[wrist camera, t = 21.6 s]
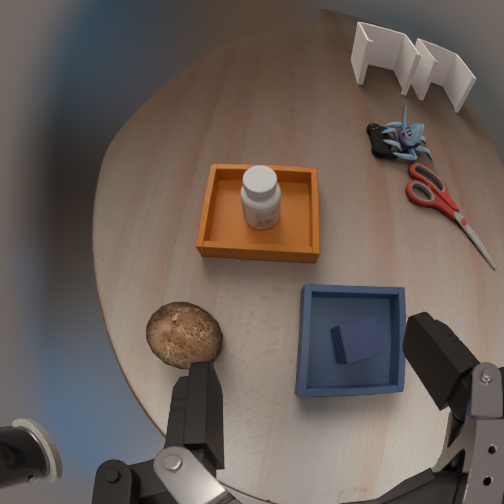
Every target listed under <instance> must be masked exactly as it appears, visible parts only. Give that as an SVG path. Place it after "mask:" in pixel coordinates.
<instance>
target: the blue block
mask: <svg viewBox="0 0 504 504" xmlns="http://www.w3.org/2000/svg"><path fill="white" fill-rule="evenodd" d="M330 331H331V335H332V340H333V344H334V349H335V354H336V359H337V363H338V364H351V363H354V362H358V361H361V360H364V359H367V358H370V357H374V356H377V355H380V354H383V353H384V352H383V347H382V342H381V338H380V333H379V329H378V325H377V321H376V316H375V315H374V316H370V317H367V318H363V319H360V320H356V321H352V322H349V323H345V324H341V325H338V326H336V327H334V328H332V329H330Z"/></svg>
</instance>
